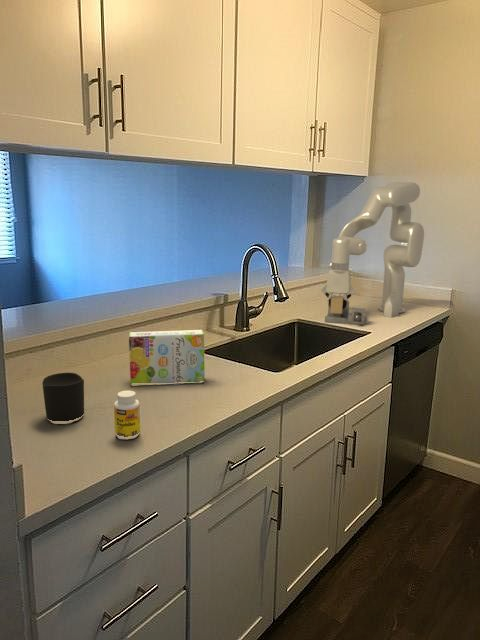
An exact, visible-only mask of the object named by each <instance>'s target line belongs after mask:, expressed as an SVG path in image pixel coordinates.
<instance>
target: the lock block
mask: <svg viewBox="0 0 480 640" xmlns="http://www.w3.org/2000/svg"><path fill="white" fill-rule="evenodd" d="M343 300H344V295H340V296H336V294H335V295H333V294H332V298H331V310H330V313H340V314H342V311H344V309H343Z"/></svg>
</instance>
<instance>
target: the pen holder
mask: <svg viewBox="0 0 480 640" xmlns="http://www.w3.org/2000/svg"><path fill="white" fill-rule="evenodd" d="M42 391H43V400H44V408H45V414H46V419H47V418H48V419H49V420H52V421H69V420H74V419H76V418H79V417H81V416H82V415H83V414H84V415H85V380H84V379H83V377H82V376H80V374H78V373H75V372H59V373H53V374H50V375H48V376H45V378H43V381H42Z"/></svg>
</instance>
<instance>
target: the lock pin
mask: <svg viewBox="0 0 480 640" xmlns="http://www.w3.org/2000/svg"><path fill="white" fill-rule="evenodd" d="M361 316H362V312H355V318H354V320H355V321H360V318H361Z"/></svg>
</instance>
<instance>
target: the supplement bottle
mask: <svg viewBox="0 0 480 640" xmlns="http://www.w3.org/2000/svg"><path fill="white" fill-rule="evenodd" d="M116 397H117V400H116V401H115V402H114V404H113V409H114V434H115V433H116V434H117V435H119V436H124V437H128V436H134V435H136V434H138V433H139V432H140V433H141V419H140V418H141V417H140V416H141V415H140V413H141V412H140V409H141V408H140V402H139V401H140V400H138V399H136V398H137V396H136V392H135V391H133V390H122V391H119V392H117V396H116Z"/></svg>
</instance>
